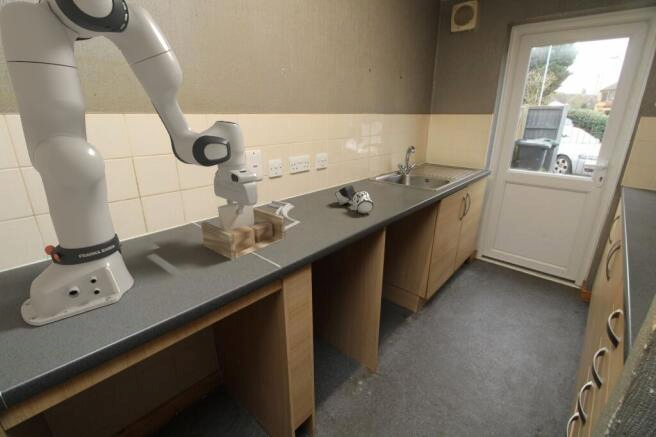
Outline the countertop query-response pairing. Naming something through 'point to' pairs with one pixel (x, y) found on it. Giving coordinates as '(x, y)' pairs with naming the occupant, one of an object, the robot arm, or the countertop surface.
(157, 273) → the countertop surface
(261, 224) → the walnut offcut
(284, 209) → the molding
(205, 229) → the offcut rack
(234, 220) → the white square panel
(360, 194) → the patterned dumbbell
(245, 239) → the oak offcut
